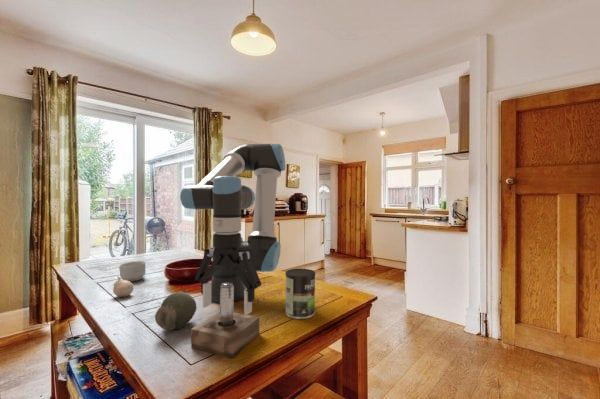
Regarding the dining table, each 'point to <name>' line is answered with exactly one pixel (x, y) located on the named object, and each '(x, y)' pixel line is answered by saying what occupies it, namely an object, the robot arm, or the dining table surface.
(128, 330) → the dining table surface
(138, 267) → the teacup
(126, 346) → the dining table surface
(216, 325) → the bore block
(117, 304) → the dining table surface
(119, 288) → the garlic bulb
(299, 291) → the coffee can
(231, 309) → the pin
